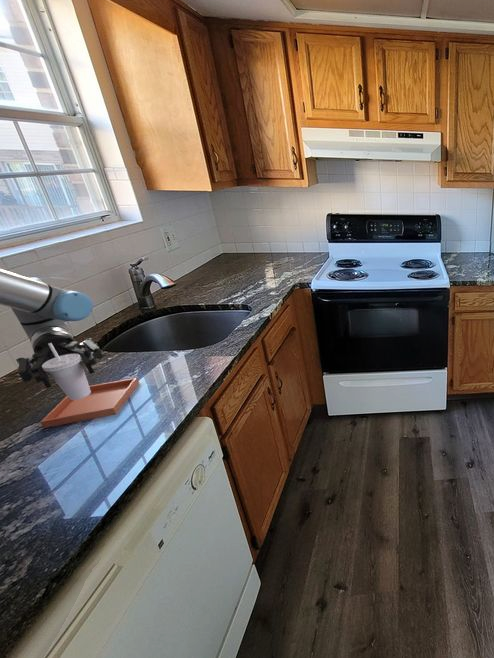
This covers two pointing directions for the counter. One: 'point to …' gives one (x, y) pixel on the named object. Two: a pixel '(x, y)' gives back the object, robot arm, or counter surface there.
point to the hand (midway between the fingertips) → (68, 375)
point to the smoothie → (68, 374)
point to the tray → (92, 403)
